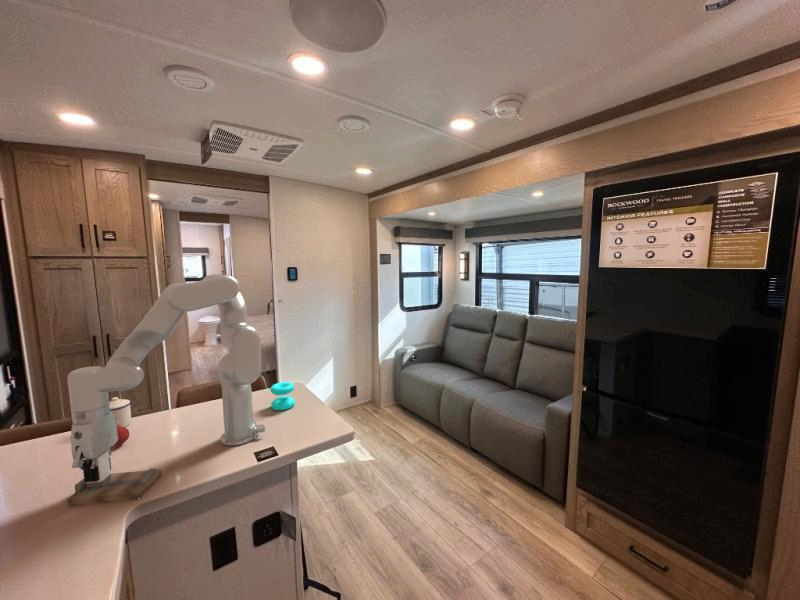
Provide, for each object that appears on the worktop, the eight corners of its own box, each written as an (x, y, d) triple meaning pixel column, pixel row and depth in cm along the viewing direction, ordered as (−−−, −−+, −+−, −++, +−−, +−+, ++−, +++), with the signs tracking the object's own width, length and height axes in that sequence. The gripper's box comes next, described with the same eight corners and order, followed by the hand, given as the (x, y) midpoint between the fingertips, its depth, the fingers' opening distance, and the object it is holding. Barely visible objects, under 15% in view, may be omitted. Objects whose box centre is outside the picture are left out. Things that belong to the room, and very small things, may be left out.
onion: (117, 451, 110) (115, 429, 109) (103, 449, 111) (101, 427, 110) (134, 442, 115) (132, 421, 114) (121, 441, 116) (119, 419, 116)
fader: (112, 478, 92) (109, 450, 91) (102, 487, 88) (98, 457, 87) (96, 480, 91) (93, 451, 90) (85, 488, 88) (82, 458, 87)
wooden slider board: (161, 475, 96) (160, 463, 96) (139, 499, 87) (137, 485, 86) (98, 481, 94) (96, 468, 94) (68, 506, 84) (66, 491, 84)
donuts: (293, 387, 140) (268, 390, 137) (294, 410, 141) (269, 412, 138) (294, 380, 149) (271, 382, 147) (295, 401, 150) (273, 403, 148)
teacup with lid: (123, 419, 133) (120, 392, 132) (137, 422, 130) (135, 394, 129) (87, 433, 122) (83, 403, 121) (102, 437, 119) (99, 407, 118)
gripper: (81, 426, 80) (89, 495, 82) (128, 399, 96) (133, 457, 98) (46, 428, 79) (55, 498, 81) (100, 401, 95) (106, 459, 97)
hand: (98, 475), depth 89 cm, fingers closed on fader, 3 cm apart
